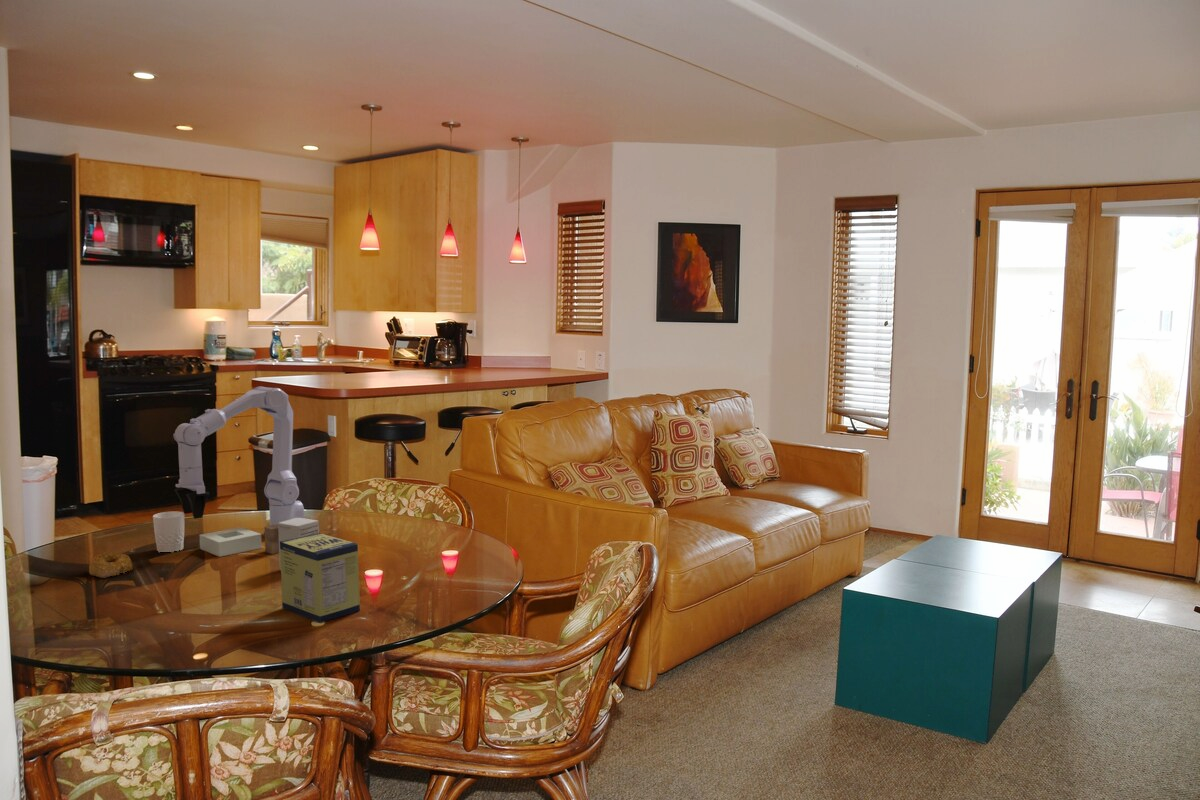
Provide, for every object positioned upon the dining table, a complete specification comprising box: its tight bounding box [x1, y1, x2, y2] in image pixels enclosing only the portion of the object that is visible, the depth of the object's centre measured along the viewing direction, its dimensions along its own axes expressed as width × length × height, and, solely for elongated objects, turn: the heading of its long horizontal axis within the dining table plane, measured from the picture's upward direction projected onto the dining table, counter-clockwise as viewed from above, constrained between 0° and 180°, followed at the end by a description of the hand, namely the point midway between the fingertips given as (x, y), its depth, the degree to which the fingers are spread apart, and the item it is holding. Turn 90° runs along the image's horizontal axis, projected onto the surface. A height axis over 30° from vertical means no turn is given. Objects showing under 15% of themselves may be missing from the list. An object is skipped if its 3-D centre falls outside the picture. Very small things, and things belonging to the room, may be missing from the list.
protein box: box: [280, 532, 361, 624], centre depth 201 cm, size 10×16×16 cm
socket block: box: [199, 526, 263, 558], centre depth 252 cm, size 12×12×4 cm
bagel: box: [88, 551, 133, 579], centre depth 230 cm, size 10×11×5 cm
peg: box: [264, 524, 279, 555], centre depth 249 cm, size 4×4×7 cm
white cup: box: [152, 510, 185, 553], centre depth 250 cm, size 8×8×10 cm
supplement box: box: [278, 517, 320, 571], centre depth 232 cm, size 7×7×13 cm
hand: (193, 515), depth 248 cm, fingers open, 7 cm apart
